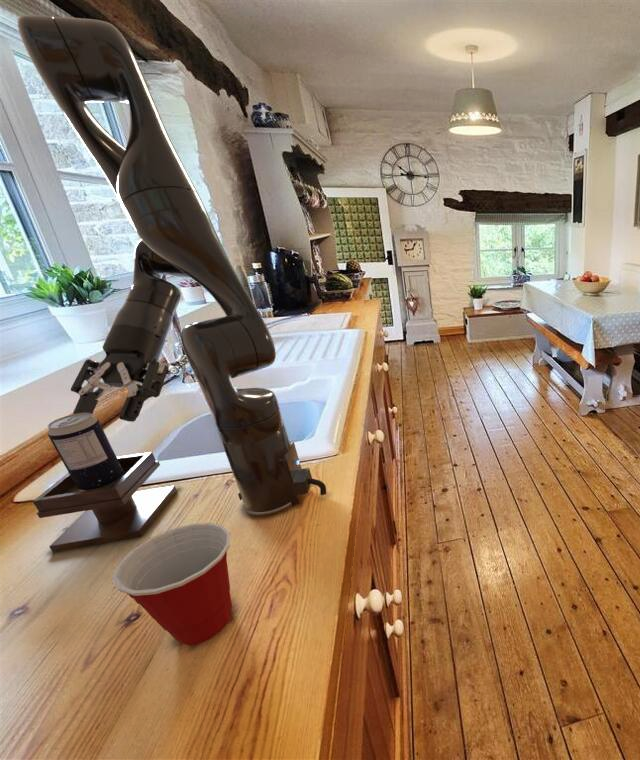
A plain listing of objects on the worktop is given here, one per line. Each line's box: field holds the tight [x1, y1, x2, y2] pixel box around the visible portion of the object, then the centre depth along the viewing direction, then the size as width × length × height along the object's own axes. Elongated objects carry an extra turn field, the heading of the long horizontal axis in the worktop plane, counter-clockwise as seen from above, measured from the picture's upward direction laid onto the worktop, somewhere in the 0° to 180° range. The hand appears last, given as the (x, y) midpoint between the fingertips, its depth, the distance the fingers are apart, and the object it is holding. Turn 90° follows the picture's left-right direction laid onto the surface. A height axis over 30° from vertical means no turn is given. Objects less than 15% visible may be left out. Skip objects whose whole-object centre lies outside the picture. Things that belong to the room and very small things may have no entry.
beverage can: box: [47, 413, 123, 491], centre depth 65 cm, size 6×6×12 cm
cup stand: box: [32, 451, 178, 553], centre depth 68 cm, size 12×12×9 cm
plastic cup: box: [111, 522, 233, 647], centre depth 49 cm, size 11×11×12 cm
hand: (103, 419), depth 67 cm, fingers open, 8 cm apart
